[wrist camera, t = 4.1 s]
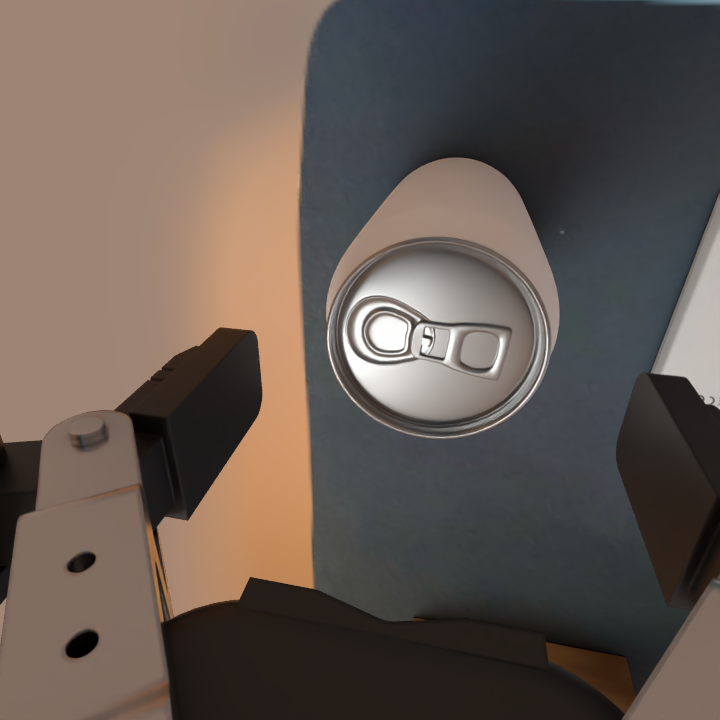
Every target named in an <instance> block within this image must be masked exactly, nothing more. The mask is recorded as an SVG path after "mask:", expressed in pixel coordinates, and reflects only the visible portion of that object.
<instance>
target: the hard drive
mask: <svg viewBox="0 0 720 720" xmlns="http://www.w3.org/2000/svg"><path fill="white" fill-rule="evenodd" d="M650 373H654V374H663V375H673V376H682V377H686V378H687V379H688V380H689V381H690V383H691V384H692V385H693V387H694V388H695V390H696V391H697V393H698V394H699V395H700V397H701V398H702V400H703V401H704V402H705V404H710V405H714V406H716V407H717V408H719V409H720V193H719V195H718V198H717V200H716V203H715V206H714V208H713V211H712V213H711V216H710V219H709V221H708V224H707V226H706V229H705V231H704V234H703V237H702V240H701V242H700V245H699V247H698V249H697V252H696V255H695V258H694V260H693V263H692V266H691V268H690V271H689V273H688V276H687V279H686V281H685V284H684V286H683V289H682V291H681V294H680V297H679V299H678V302H677V304H676V307H675V310H674V312H673V315H672V317H671V320H670V323H669V326H668V328H667V331H666V334H665V336H664V338H663V341H662V344H661V346H660V349H659V351H658V354H657V357H656V360H655V362H654V364H653V367H652V370H651V372H650Z"/></svg>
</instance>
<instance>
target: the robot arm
mask: <svg viewBox="0 0 720 720" xmlns="http://www.w3.org/2000/svg"><path fill="white" fill-rule="evenodd" d="M258 350H259V349H258V340H257V336H256V334H255V332H253V331H250V330H241V329H231V328H219V329H217V330H216V331H215V332H214V333H213V334H212V335H211V336H210V337H209V338H208V339H206V340H205V341H204V342H203V344H201V345H200V346H195V347H192V348H190V349H188V350H186V351H184V352H182V353H180V354H178V355H176V356H174V357H173V358H172V359H171V360H170V361H169V362H168V363H166V364H165V365H164V366H163V367H162V370H159V371H158V372H156V373H155V374H154V375H153V376H152V377H151V380H147V382H145V383H144V384H143V385H142V386H141V387H140V388H138V389H137V390H136V391H135V392H134V393H133V394H132V395H131V396H130V397H129V398H127V399H126V400H125V401H124V402H123V403H122V404H121V405H119V406H118V407H117V408H116V409H115V410H114V411H111V410H99V411H91V412H86V413H82V414H79V415H77V416H73V417H71V418H68V419H66V420H64V421H62V422H61V423H59V424H57V425H56V426H54V427H53V428H52V429H51V430H50V431H49V432H48V433H47V434H46V435H45V437H44V439H43V440H40V441H26V442H12V443H3V441H2V438H1V435H0V604H1V603H2V602H3V601H4V600H5V598H6V597H7V600H6V607H5V615H4V623H3V629H2V637H1V645H0V720H720V409H719V408H717V407H716V406H714V405H710V404H705V402H704V401H703V400H702V398H701V397H700V395H699V394H698V393H697V391H696V390H695V388H694V387H693V385H692V384H691V383H690V381H689V380H688V379H687V378H686V377H682V376H673V375H663V374H654V373H641V374H640V375H639V376H638V378H637V380H636V382H635V385H634V388H633V391H632V394H631V398H630V401H629V404H628V407H627V410H626V414H625V417H624V420H623V423H622V426H621V430H620V433H619V436H618V440H617V447H616V460H617V466H618V470H619V472H620V475H621V478H622V481H623V483H624V486H625V489H626V492H627V495H628V497H629V500H630V503H631V506H632V509H633V511H634V514H635V517H636V520H637V523H638V525H639V528H640V531H641V534H642V536H643V539H644V542H645V545H646V548H647V550H648V553H649V556H650V559H651V562H652V564H653V567H654V570H655V573H656V576H657V578H658V581H659V584H660V587H661V590H662V592H663V595H664V598H665V601H666V603H667V606H669V607H675V608H681V609H686V610H692V611H691V613H690V614H689V616H688V617H687V619H686V620H685V622H684V623H683V625H682V627H681V628H680V630H679V631H678V633H677V634H676V636H675V637H674V639H673V641H672V642H671V644H670V645H669V647H668V648H667V650H666V651H665V653H664V655H663V656H662V658H661V659H660V661H659V662H658V664H657V665H656V667H655V669H654V670H653V672H652V673H651V675H650V676H649V678H648V680H647V681H646V683H645V684H644V686H643V687H642V689H641V690H640V692H639V694H638V695H637V697H636V698H635V700H634V701H633V703H632V704H631V706H630V708H629V709H628V711H627V712H626V714H624V713H623V712H622V711H621V710H620V709H619V708H618V707H617V706H616V705H615V704H614V703H613V702H612V701H610V700H609V699H608V698H607V697H606V696H604V695H603V694H602V693H601V692H600V691H598V690H597V689H596V688H594V687H593V686H591V685H590V684H588V683H587V682H586V681H584V680H583V679H581V678H580V677H578V676H577V675H575V674H573V673H571V672H570V671H568V670H566V669H564V668H563V667H561V666H559V665H557V664H555V663H552V662H550V661H548V656H547V647H546V639H545V633H541V632H536V631H530V630H525V629H520V628H515V627H509V626H504V625H499V624H494V623H488V622H483V621H478V620H473V619H467V618H465V619H443V620H421V621H399V622H391V621H385V620H382V619H379V618H377V617H375V616H373V615H371V614H369V613H366V612H364V611H362V610H360V609H358V608H356V607H353V606H351V605H349V604H347V603H345V602H342V601H340V600H338V599H336V598H334V597H332V596H329V595H327V594H325V593H323V592H321V591H319V590H315V589H309V588H305V587H300V586H294V585H289V584H284V583H279V582H273V581H268V580H263V579H258V578H252V577H250V578H249V581H248V583H247V585H246V587H245V589H244V591H243V594H242V596H241V598H240V600H230V601H224V602H218V603H213V604H209V605H206V606H202V607H199V608H195V609H193V610H190V611H188V612H185V613H182V614H180V615H178V616H176V617H174V615H173V610H172V604H171V599H170V593H169V588H168V582H167V576H166V571H165V565H164V560H163V554H162V548H161V543H160V537H159V533H158V529H157V526H158V524H159V523H160V522H161V520H162V519H163V518H164V517H171V518H177V519H182V520H189V518H190V517H191V515H192V514H193V512H194V511H195V509H196V508H197V506H198V505H199V503H200V502H201V500H202V499H203V497H204V495H205V494H206V493H207V491H208V490H209V488H210V487H211V485H212V484H213V482H214V481H215V479H216V478H217V476H218V475H219V473H220V472H221V470H222V469H223V467H224V466H225V464H226V463H227V461H228V460H229V458H230V457H231V455H232V454H233V452H234V451H235V449H236V448H237V446H238V445H239V443H240V442H241V440H242V439H243V437H244V436H245V434H246V433H247V431H248V430H249V428H250V427H251V425H252V424H253V422H254V421H255V419H256V418H257V416H258V414H259V411H260V407H261V402H262V383H261V373H260V361H259V351H258Z"/></svg>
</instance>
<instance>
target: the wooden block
mask: <svg viewBox="0 0 720 720" xmlns="http://www.w3.org/2000/svg"><path fill="white" fill-rule="evenodd" d="M421 620H425V619H420V618H413V621H421ZM546 647H547V656H548V661H550V662H552V663H555V664H557V665H559V666H561V667H563V668H564V669H566V670H568V671H570V672H571V673H573V674H575V675H577V676H578V677H580V678H581V679H583V680H584V681H586V682H587V683H588V684H590V685H591V686H593V687H594V688H596V689H597V690H598V691H600V692H601V693H602V694H603V695H604V696H606V697H607V698H608V699H609V700H610V701H612V702H613V703H614V704H615V705H616V706H617V707H618V708H619V709H620V710H621V711H622V712H623V713H624V714H626V712H627V711H628V709H629V708H630V706H631V704H632V703H633V701H634V700H635V698H636V695H635V691H634V688H633V684H632V680H631V676H630V672H629V668H628V665H627V661H626V658H625V657H621V656H616V655H611V654H606V653H600V652H595V651H590V650H584V649H579V648H574V647H568V646H563V645H558V644H552V643H547V642H546Z"/></svg>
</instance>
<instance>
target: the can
mask: <svg viewBox="0 0 720 720" xmlns="http://www.w3.org/2000/svg"><path fill="white" fill-rule="evenodd" d="M326 318H327V326H326V344H327V352H328V357H329V360H330V364H331V367H332V369H333V372H334V374H335V376H336V378H337V380H338V382H339V384H340V385H341V387H342V388H343V390H344V391H345V393H346V394H347V395H348V396H349V398H350V399H351V400H352V401H353V402H354V403H355V404H356V405H357V406H358V407H359V408H360V409H361V410H362V411H363V412H365V413H366V414H367V415H369V416H370V417H371V418H373V419H374V420H376V421H378V422H379V423H381V424H383V425H385V426H387V427H389V428H391V429H393V430H396V431H399V432H401V433H405V434H408V435H412V436H416V437H422V438H430V439H453V438H461V437H467V436H471V435H475V434H478V433H481V432H484V431H487V430H489V429H491V428H494V427H496V426H498V425H499V424H501V423H503V422H505V421H506V420H508V419H509V418H510V417H512V416H513V415H514V414H516V413H517V412H518V411H519V410H520V409H521V408H522V407H523V406H524V405H525V404H526V403H527V402H528V401H529V400H530V399H531V397H532V396H533V395H534V393H535V392H536V390H537V389H538V387H539V385H540V384H541V382H542V380H543V377H544V375H545V373H546V370H547V367H548V363H549V359H550V355H551V353H552V351H553V348H554V345H555V342H556V338H557V334H558V328H559V300H558V293H557V288H556V284H555V281H554V278H553V274H552V271H551V269H550V266H549V263H548V261H547V258H546V256H545V253H544V251H543V248H542V246H541V243H540V241H539V238H538V236H537V233H536V231H535V228H534V226H533V224H532V221H531V219H530V217H529V214H528V212H527V210H526V207H525V205H524V203H523V201H522V199H521V197H520V195H519V193H518V192H517V190H516V188H515V187H514V186H513V184H512V183H511V182H510V181H509V180H508V179H507V178H506V177H505V176H504V175H503V174H502V173H500V172H499V171H498V170H496V169H495V168H493V167H491V166H489V165H487V164H485V163H483V162H480V161H477V160H473V159H468V158H446V159H440V160H436V161H433V162H430V163H428V164H425V165H423V166H421V167H419V168H418V169H416V170H414V171H413V172H411V173H410V174H409V175H408V176H406V177H405V178H404V179H403V180H402V181H401V182H400V183H399V184H398V185H397V186H396V188H395V189H394V190H393V191H392V192H391V194H390V195H389V196H388V197H387V198H386V200H385V201H384V202H383V203H382V205H381V206H380V207H379V208H378V210H377V211H376V212H375V213H374V215H373V216H372V217H371V219H370V220H369V221H368V222H367V224H366V225H365V226H364V228H363V229H362V230H361V231H360V233H359V234H358V235H357V237H356V238H355V239H354V241H353V242H352V243H351V245H350V246H349V248H348V249H347V251H346V252H345V254H344V255H343V257H342V259H341V260H340V262H339V264H338V266H337V268H336V270H335V273H334V275H333V278H332V281H331V284H330V288H329V292H328V297H327V306H326Z"/></svg>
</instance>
